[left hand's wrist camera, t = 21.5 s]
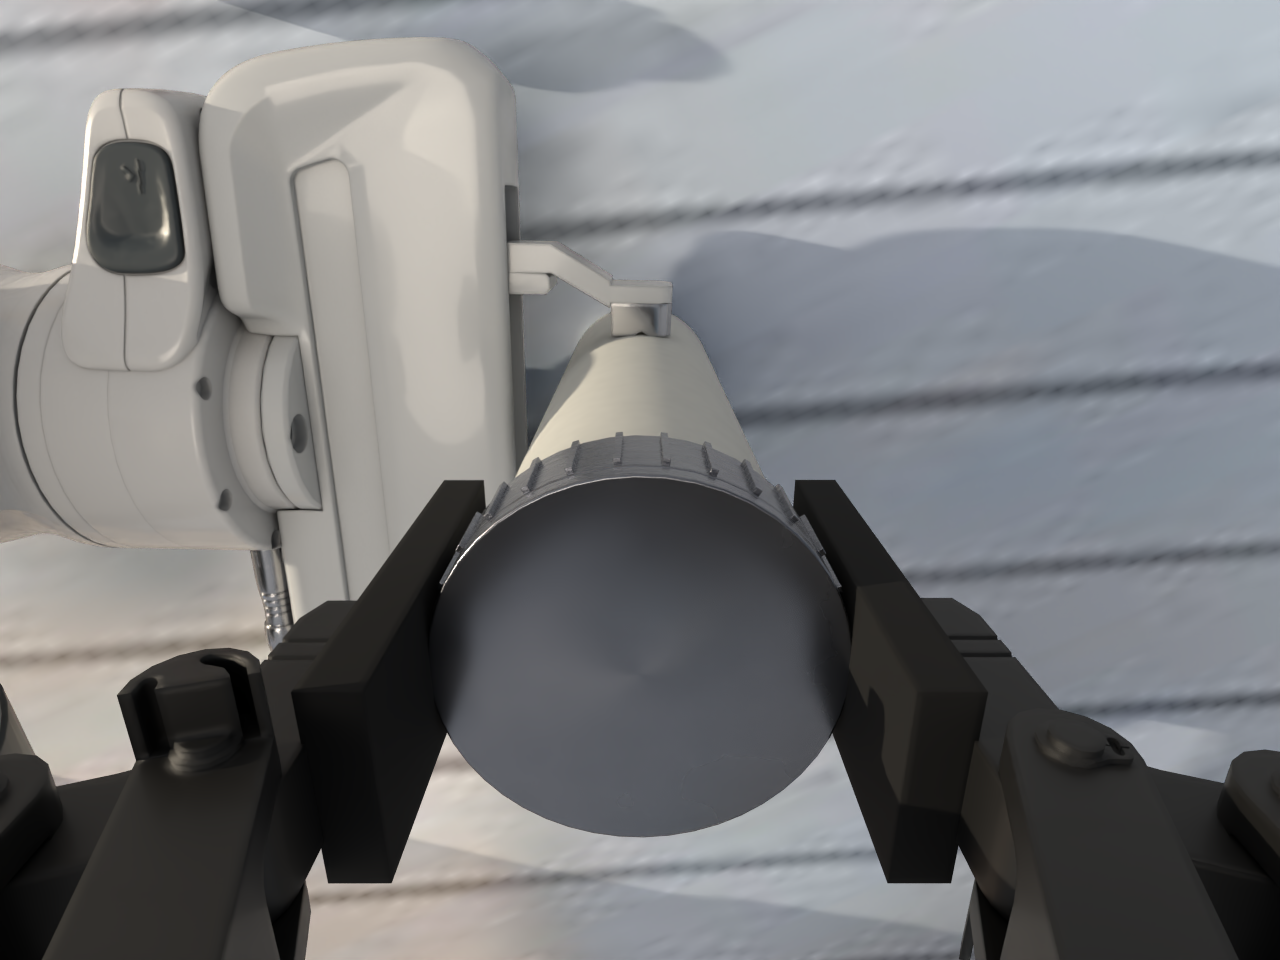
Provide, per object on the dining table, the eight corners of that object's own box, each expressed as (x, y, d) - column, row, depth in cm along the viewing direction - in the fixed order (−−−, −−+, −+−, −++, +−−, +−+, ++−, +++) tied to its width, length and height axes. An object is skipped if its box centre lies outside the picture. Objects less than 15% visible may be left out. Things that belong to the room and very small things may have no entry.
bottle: (569, 304, 28) (444, 469, 10) (712, 307, 28) (840, 476, 10) (571, 442, 30) (469, 785, 12) (705, 444, 30) (803, 789, 12)
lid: (814, 400, 11) (847, 434, 9) (839, 738, 13) (869, 817, 11) (409, 460, 11) (368, 504, 9) (497, 781, 13) (476, 863, 12)
